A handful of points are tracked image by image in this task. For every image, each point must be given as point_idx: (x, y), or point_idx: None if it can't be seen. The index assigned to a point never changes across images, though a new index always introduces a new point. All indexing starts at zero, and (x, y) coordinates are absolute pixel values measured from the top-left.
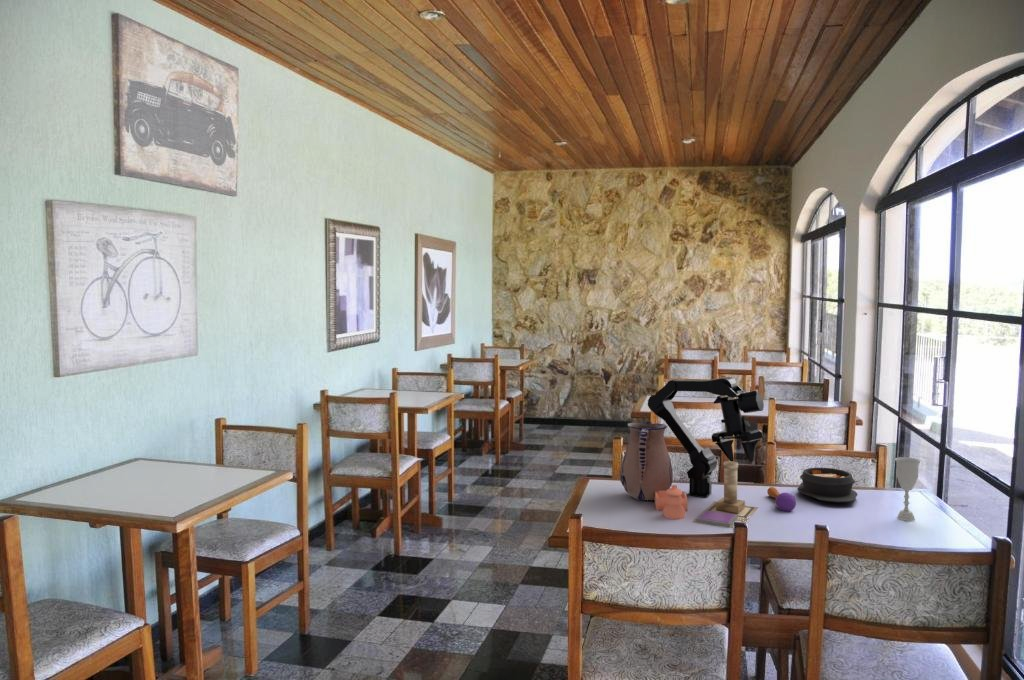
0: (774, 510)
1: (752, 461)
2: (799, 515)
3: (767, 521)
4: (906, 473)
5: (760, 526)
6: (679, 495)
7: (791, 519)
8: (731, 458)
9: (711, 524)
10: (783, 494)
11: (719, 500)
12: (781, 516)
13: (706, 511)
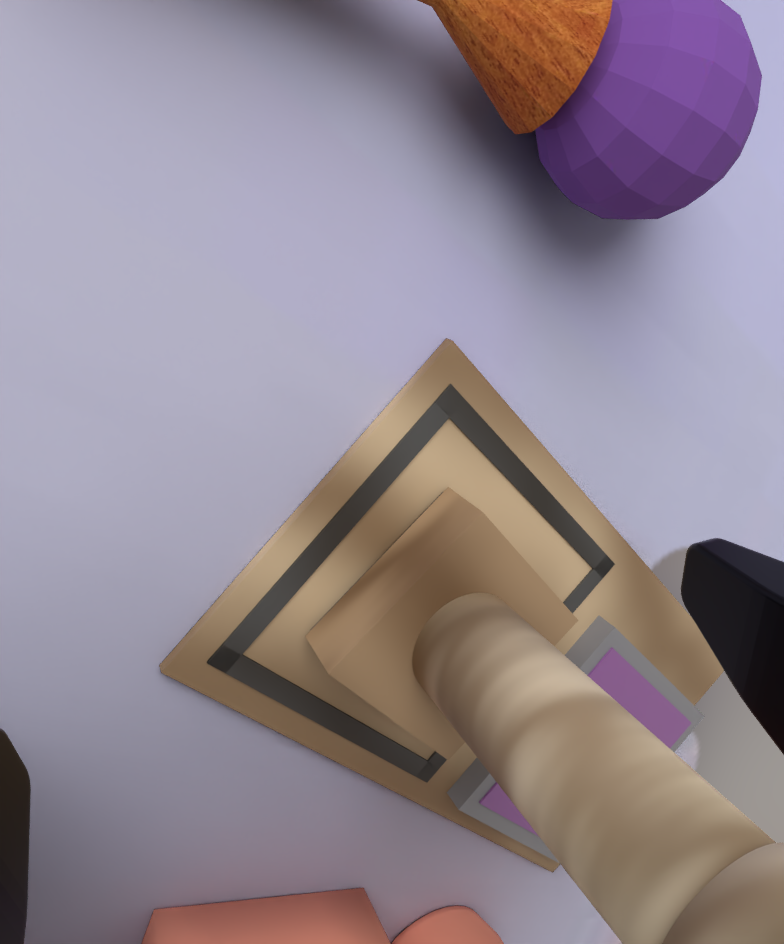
0: (534, 219)
1: (713, 549)
2: None
3: (692, 438)
4: None
5: (730, 525)
6: None
7: (736, 237)
8: (2, 846)
9: None
10: (720, 151)
11: (405, 723)
12: (664, 268)
13: (493, 808)
